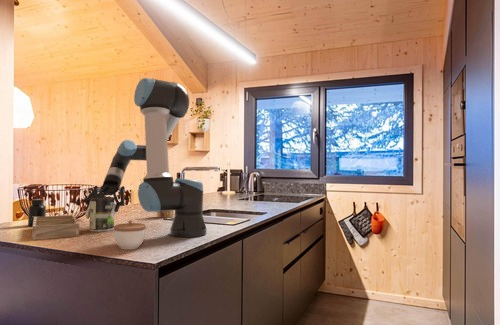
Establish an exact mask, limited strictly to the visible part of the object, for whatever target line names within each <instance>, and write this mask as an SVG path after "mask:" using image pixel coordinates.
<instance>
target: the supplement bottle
mask: <svg viewBox="0 0 500 325" xmlns="http://www.w3.org/2000/svg"><path fill="white" fill-rule="evenodd" d="M30 204H31V205H29V207H28V215H27V221H28V222H27V226H28V227H33V221H34V217H46V209H47V208H46V205H44V204H45V203H44V199H43V198H38V199H37V198H34V199H31V203H30Z"/></svg>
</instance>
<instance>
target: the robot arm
mask: <svg viewBox="0 0 500 325" xmlns="http://www.w3.org/2000/svg"><path fill="white" fill-rule="evenodd" d="M133 100H134V104H135V105H136V106H137V107H139V108H140V109H139V110H140V112H139V113H141V114H142V115H143V116H144V130H145V132H144V133H145V134H144V137H145V145H144V144H143V145H141V144H136V142H135V141H133V140H130V139H126V140H123V141H122V142H121V143H120V144H119V146H118V147H117V150H116V152H115V153H114V156H113V157H112V159H111V162H110V165H109V167H108V170H107V173H106V175H105V177H104V180H103V182H102V185H101V186H98V185H95V186H94V187H93V190H92V191H91V192H90V193H89V195H88V196H86V198H85V199H84V203H85V205H86V207H85V210H86V212H85V214H84V216H85V218H86V219H88V220H90V198H92V197H106V196H112V197H114V198H115V200H114V205H113V208H112V211H111V214H110V217H111V219H114V220H115V216H116V213H118V212H119V210H120V207H121V206H122V207H123V206H125V205H126V201H125V192H126V188H125V186H124V185H123V186H121V185H122V181H123V179H124V176H125V173H126V170H127V168H128V165H130V162H131V161H145V162H146V175H145V176H144V177H143V178H142V180H143V182H141V183H140V184H139V185H138V189H137V198H138V202H139V204H140V206H141V207H142V209H143V210H144V211H145V212H148V213H152V212H153V213H157V212H160V211H172V210H174V216H173V221H172V223H171V225H170V226H171V227H170V231H169V232H170V234H169V235H170V236H173V237H178V238H195V237H202V235H203V236H205V235H206V234H207V226H206V223H205V219H204V215H203V213H204V212H203V210H204V207H203V206H204V205H203V204H204V184H203V182H202V181H200V180H194V179H185V178H175V180H174V177H173V176H172V175H171V174H170V169H169V168H170V167H169V148H168V147H169V146H168V139H169V138H170V136H171V135H172V133H173V131H174V130H175V128H176V126H177V125H178V123H179V121H180V120H181V119H182V118H184V117H185V116H186V114H187V112H188V111H189V106H190V97H189V94H188V92H187V90H186V88H185V87H184V86H183V85H181V84H180V83H178V82H174V81H172V82H170V81H167V80H166V81H165V80H162V79H161V80H160V79H155V78H153V77H152V78H148V77H147V78H146V77H143V78H141V79H140V80H139V81H138V83H137V84H136V88H135V91H134V96H133ZM118 192H120V193H119V194H120V196H119V198H120V200H119V199H118V196H117V193H118Z"/></svg>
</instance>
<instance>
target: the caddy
mask: <svg viewBox="0 0 500 325" xmlns="http://www.w3.org/2000/svg"><path fill="white" fill-rule="evenodd" d="M31 235H32V237H31V238H32V239H31V240H33V241H34V240H45V239H46V240H47V239H49V238H50V239H61V238H72V237H80V222H79V221H78V218H77V217H76V216H75V214H71V215H70V214H67V215H66V214H65V215H50V216H46V215H45V217H34V221H33V226H32V232H31Z"/></svg>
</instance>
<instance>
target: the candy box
mask: <svg viewBox="0 0 500 325" xmlns="http://www.w3.org/2000/svg"><path fill="white" fill-rule="evenodd" d="M174 215H175V210H172V211H160V212H156V218H174Z"/></svg>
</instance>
